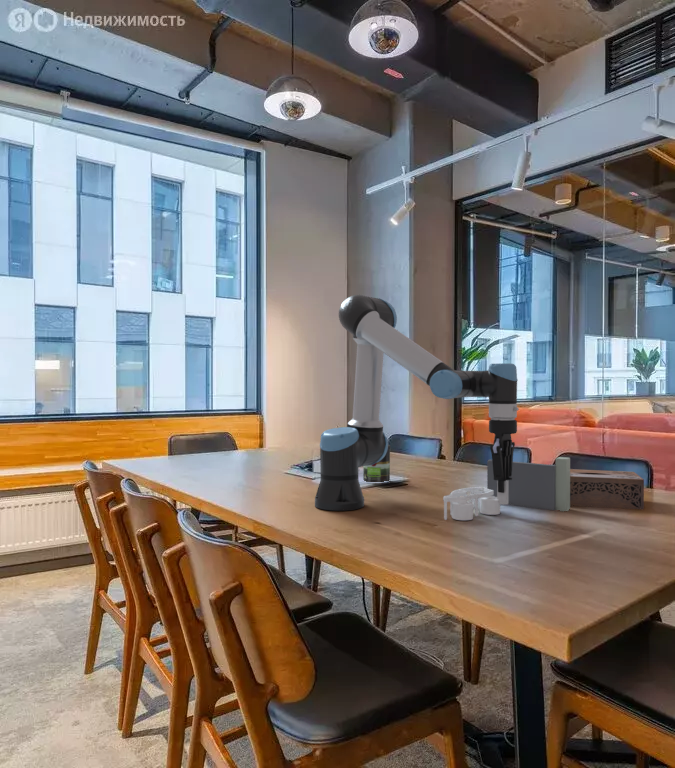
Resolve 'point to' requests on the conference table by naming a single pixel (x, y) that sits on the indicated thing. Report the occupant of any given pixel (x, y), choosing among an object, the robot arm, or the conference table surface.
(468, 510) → the white framed double cylinder
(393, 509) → the conference table surface
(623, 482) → the tissue box cover
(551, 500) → the door leaf
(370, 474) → the coffee can
